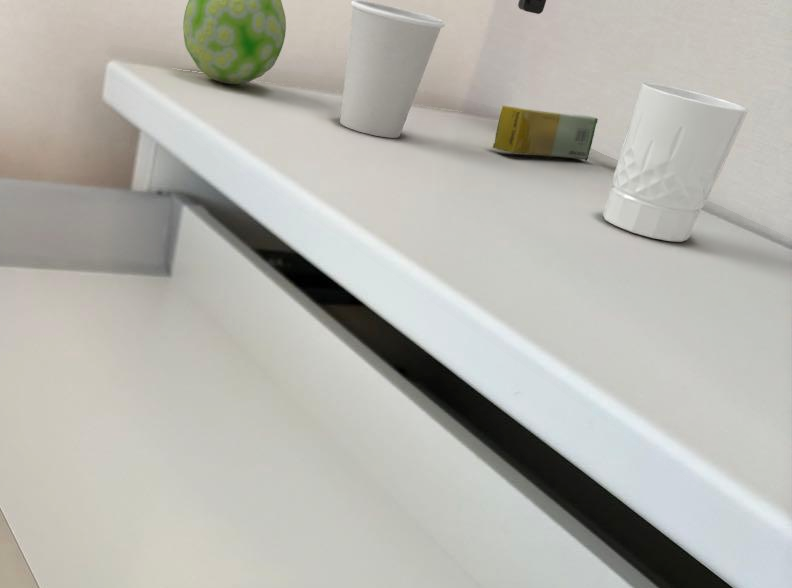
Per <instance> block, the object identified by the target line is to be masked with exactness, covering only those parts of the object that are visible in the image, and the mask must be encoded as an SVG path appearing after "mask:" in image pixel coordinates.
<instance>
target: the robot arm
mask: <svg viewBox="0 0 792 588" xmlns="http://www.w3.org/2000/svg"><path fill="white" fill-rule="evenodd" d="M546 2H547V0H518V4H517V6H518V8H519V9H520V10H521V11H524V12H527V13H531V14H537V15H540V14H541V13H543V11H544V9H545V6H546Z"/></svg>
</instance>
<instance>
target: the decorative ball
mask: <svg viewBox="0 0 792 588" xmlns="http://www.w3.org/2000/svg"><path fill="white" fill-rule="evenodd" d="M182 23H183V24H182V25H183V27H182V28H183V40H184V47H185V49H186V51H187V53H188V54H189V55H190V57H191V59H192V60H193V62H194V64H195V66H196V67H197V68H198V69H199V71H201V72H202V73H203V74H205V75H206V76H207V77H208V78H210V79H212V80H214V81H217V82H219V83H222V84H228V85H243V84H247V83H250V82H251V81H253V80H255V79H258V78H260V77H262V76H264V75H265V74H266V73H267V72H268V71H270V70H271V69H272V68H273V67H274V66H275V64H276V63H277V60H278V58H279V57H280V54H281V51H282V49H283V47H284V44H285V43H284V42H285V38H286V30H287V18H286V14H285V9H284V6H283V2H282V0H188V1H187V4H186V7H185V9H184V15H183V22H182Z"/></svg>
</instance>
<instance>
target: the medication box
mask: <svg viewBox="0 0 792 588" xmlns="http://www.w3.org/2000/svg"><path fill="white" fill-rule="evenodd" d="M598 120H599V119H598V118H597V117H594V116H589V115H583V114H575V113H566V112H565V113H564V112H557V111H548V110H542V109H535V108H534V109H533V108H527V107H526V108H525V107H516V106H510V105H502V107H501V111H500V115H499V118H498V122H497V127H496V132H495V139H494V143H493V145H492V149H495V150H499V151H504V152H508V153H513V154H524V155H534V156H545V157H555V158H556V157H557V158H568V159H578V160H584V161H585V162H588V159H589V155H590V151H591V148H592V145H593V140H594V136H595V132H596V127H597V124H598Z"/></svg>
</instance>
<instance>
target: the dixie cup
mask: <svg viewBox="0 0 792 588" xmlns="http://www.w3.org/2000/svg"><path fill="white" fill-rule="evenodd" d="M350 5H351V7H352V13H351V20H350V21H351V22H350V30H349V38H348V39H349V40H348V47H347V55H346V56H347V57H346V64H345V65H346V66H345V74H344V84H343V90H342V91H343V92H342V101H341V108H340V109H341V110H340V118H339V124H340V125H342V126H343V127H346V128H348V129H351V130H353V131H356V132H360V133H363V134H366V135H372V136H376V137H382V138H388V139H389V138H390V139H391V138H392V139H395V138H396V139H397V138H400V136H401V134H402V131H403V129H404V125H405V123H406V121H407V118H408V115H409V113H410V111H411V107H412V105H413V103H414V100H415V97H416V94H417V92H418V89H419V87H420V83H421V82H422V79H423V76H424V74H425V71H426V69H427V66H428V63H429V60H430V58H431V55H432V53H433V50H434V48H435V45H436V42H437V39H438V37H439V35H440V32H441V29H442V28H444V27H445V22H444V20H442V19H440V18H438V17H436V16H435V17H434V16H432V15H430V14H425V13H421V12H418V11H415V10H411V9H406V8H403V7H400V6H399V7H398V6H394V5H389V4H385V3H381V2H374V1H369V0H352V1H351V3H350Z"/></svg>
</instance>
